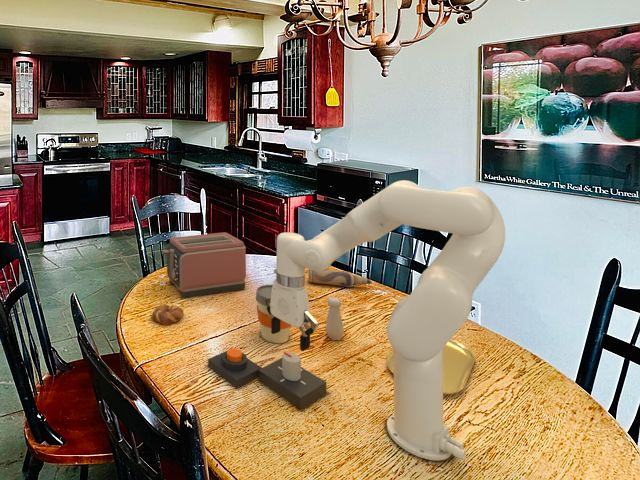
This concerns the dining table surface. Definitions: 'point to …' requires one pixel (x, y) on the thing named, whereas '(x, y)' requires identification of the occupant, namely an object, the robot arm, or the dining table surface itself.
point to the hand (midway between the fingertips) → (289, 340)
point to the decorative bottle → (336, 278)
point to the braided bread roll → (167, 314)
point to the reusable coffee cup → (265, 320)
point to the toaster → (206, 264)
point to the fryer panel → (293, 384)
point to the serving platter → (450, 366)
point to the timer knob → (291, 366)
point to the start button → (234, 355)
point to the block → (234, 369)
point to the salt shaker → (334, 319)
